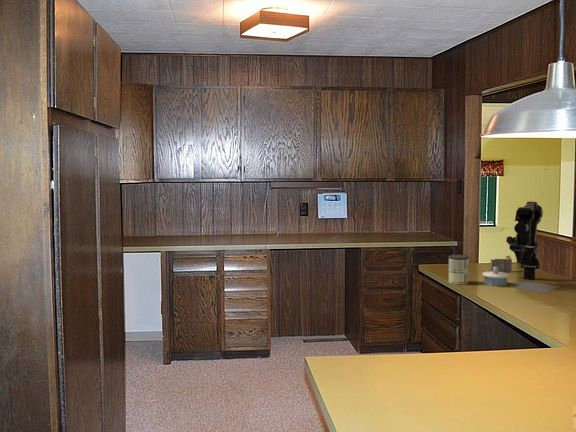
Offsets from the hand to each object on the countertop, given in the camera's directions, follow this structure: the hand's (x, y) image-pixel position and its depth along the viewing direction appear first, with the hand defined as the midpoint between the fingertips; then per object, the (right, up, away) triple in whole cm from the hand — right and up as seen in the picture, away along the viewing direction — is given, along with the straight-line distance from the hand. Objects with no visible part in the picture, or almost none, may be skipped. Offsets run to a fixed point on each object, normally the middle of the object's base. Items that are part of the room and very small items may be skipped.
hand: (523, 262), depth 305 cm
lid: (-14, -7, +2) cm, 16 cm away
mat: (+3, -13, -6) cm, 14 cm away
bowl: (-14, -12, +2) cm, 18 cm away
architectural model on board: (+2, -9, +38) cm, 39 cm away
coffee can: (-31, -12, +10) cm, 34 cm away
